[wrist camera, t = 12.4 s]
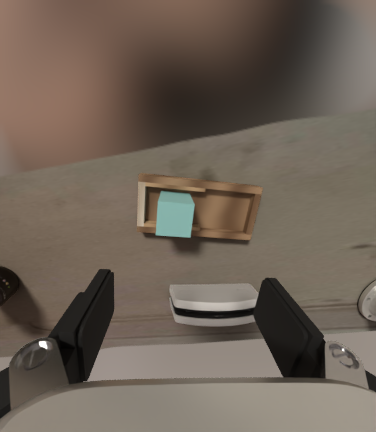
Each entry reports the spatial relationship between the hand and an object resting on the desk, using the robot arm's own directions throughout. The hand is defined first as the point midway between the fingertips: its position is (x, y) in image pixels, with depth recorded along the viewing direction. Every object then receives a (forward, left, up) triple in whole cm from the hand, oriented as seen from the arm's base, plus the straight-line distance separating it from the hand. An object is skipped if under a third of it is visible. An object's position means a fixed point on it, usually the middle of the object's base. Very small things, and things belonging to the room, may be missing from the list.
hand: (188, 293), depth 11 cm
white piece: (-8, +17, -21) cm, 28 cm away
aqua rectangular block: (+1, 0, -19) cm, 19 cm away
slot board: (-3, 0, -20) cm, 21 cm away
